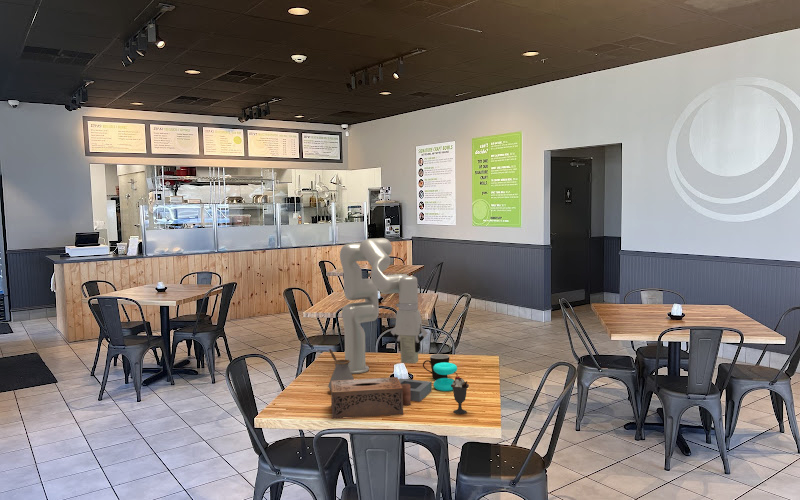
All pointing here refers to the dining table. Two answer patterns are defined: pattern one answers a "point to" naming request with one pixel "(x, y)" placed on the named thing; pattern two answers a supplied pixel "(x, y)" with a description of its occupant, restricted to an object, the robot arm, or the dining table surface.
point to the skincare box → (408, 349)
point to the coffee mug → (434, 360)
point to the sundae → (459, 393)
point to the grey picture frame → (418, 388)
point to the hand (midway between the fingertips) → (409, 350)
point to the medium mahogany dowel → (406, 394)
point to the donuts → (444, 369)
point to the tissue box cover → (366, 397)
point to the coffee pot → (340, 370)
